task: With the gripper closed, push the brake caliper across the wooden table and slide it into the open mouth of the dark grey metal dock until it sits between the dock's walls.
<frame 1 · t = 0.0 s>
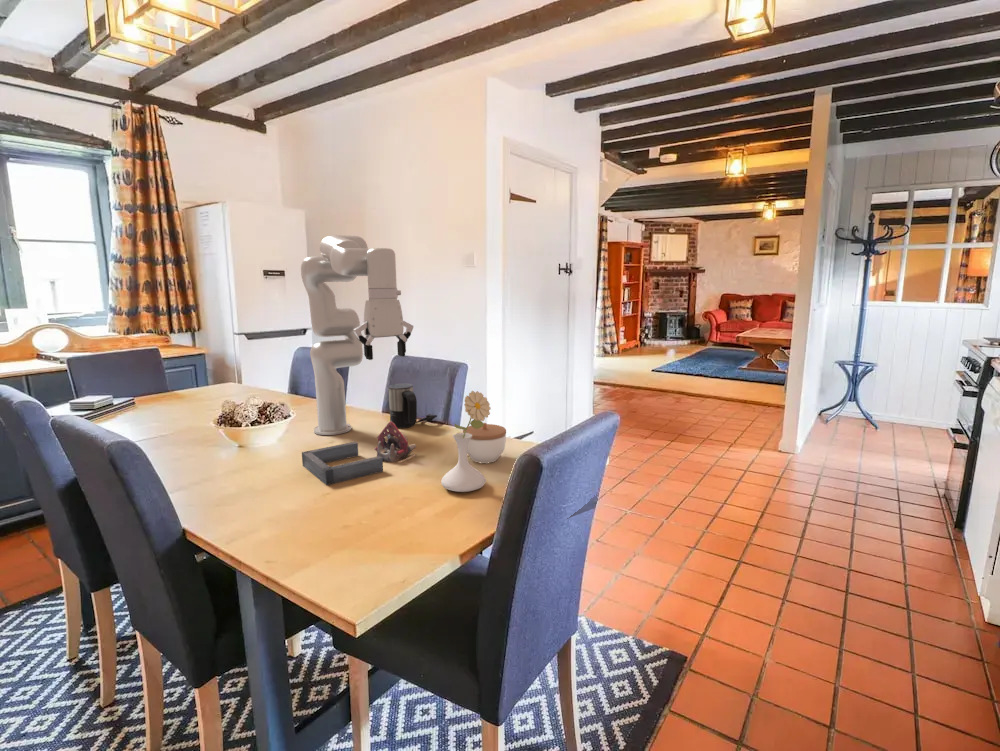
hand: (385, 357, 149), 31 cm above the table, tool pointing down, fingers open, 9 cm apart
brake caliper: (394, 457, 162), on the table
flower in vase: (466, 487, 138), on the table
dock: (345, 467, 153), on the table
lidded bowl: (484, 460, 159), on the table
milk frother: (413, 424, 197), on the table
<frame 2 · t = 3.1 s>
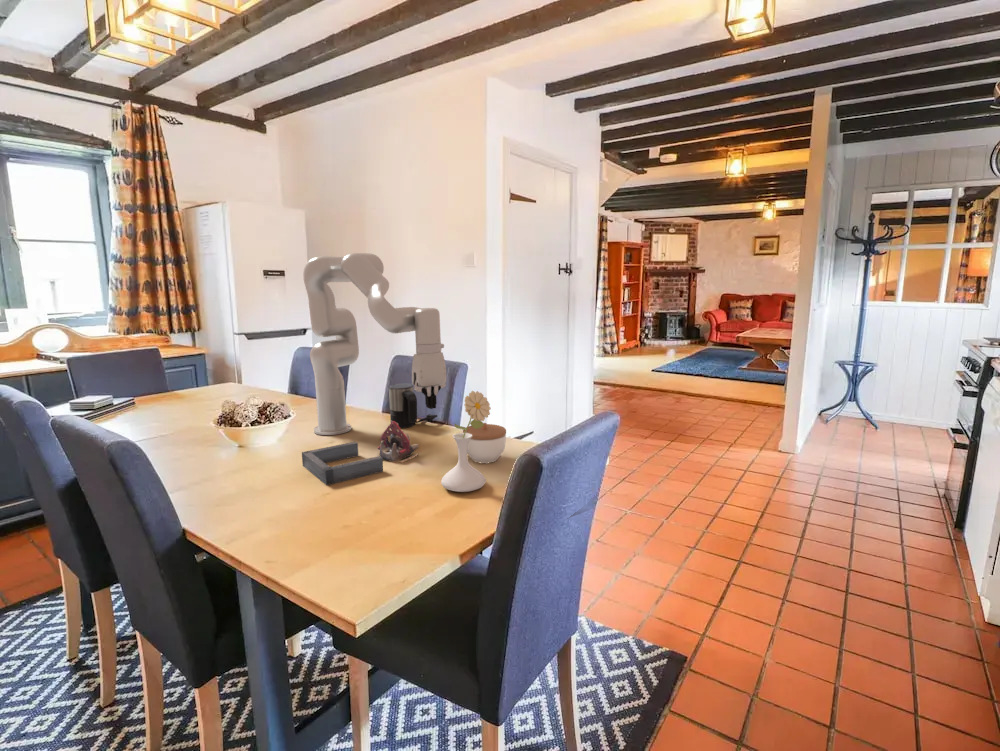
hand: (431, 407, 167), 13 cm above the table, tool pointing down, fingers closed
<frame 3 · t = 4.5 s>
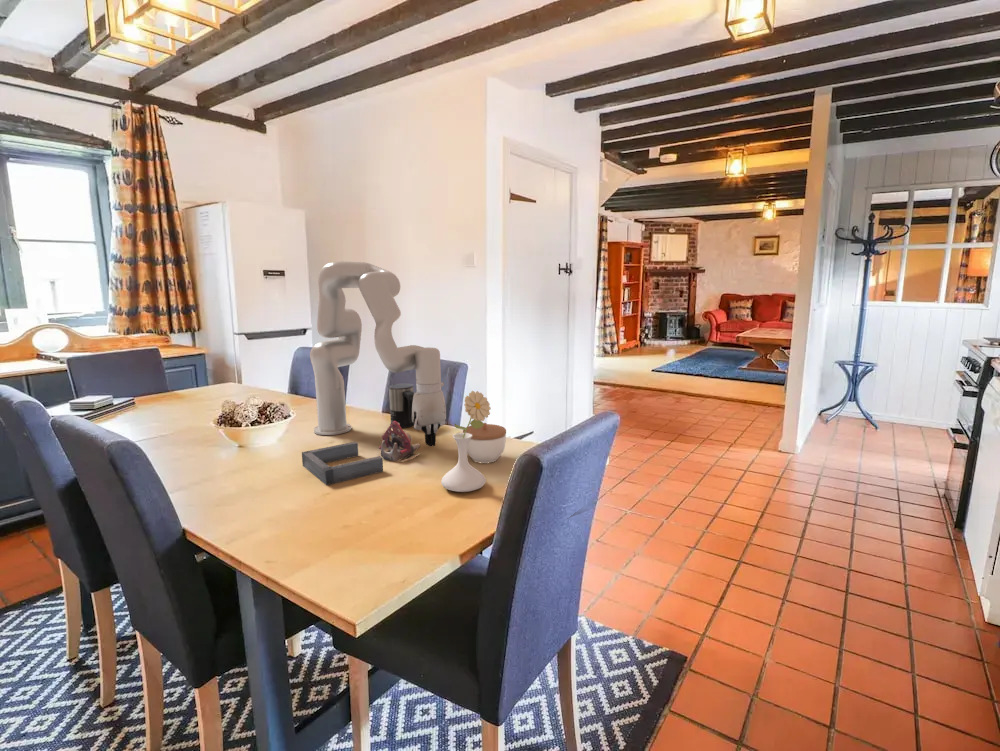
hand: (430, 445, 169), 1 cm above the table, tool pointing down, fingers closed
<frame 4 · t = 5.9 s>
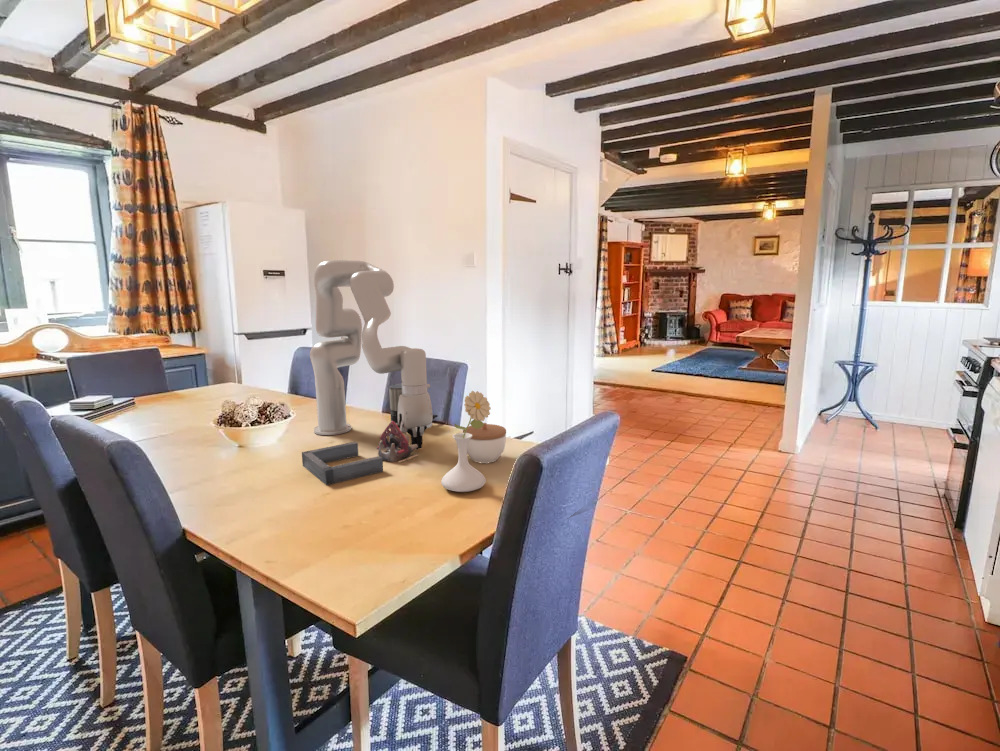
hand: (416, 447, 166), 1 cm above the table, tool pointing down, fingers closed
brake caliper: (395, 457, 162), on the table, touching gripper
everything else where it was.
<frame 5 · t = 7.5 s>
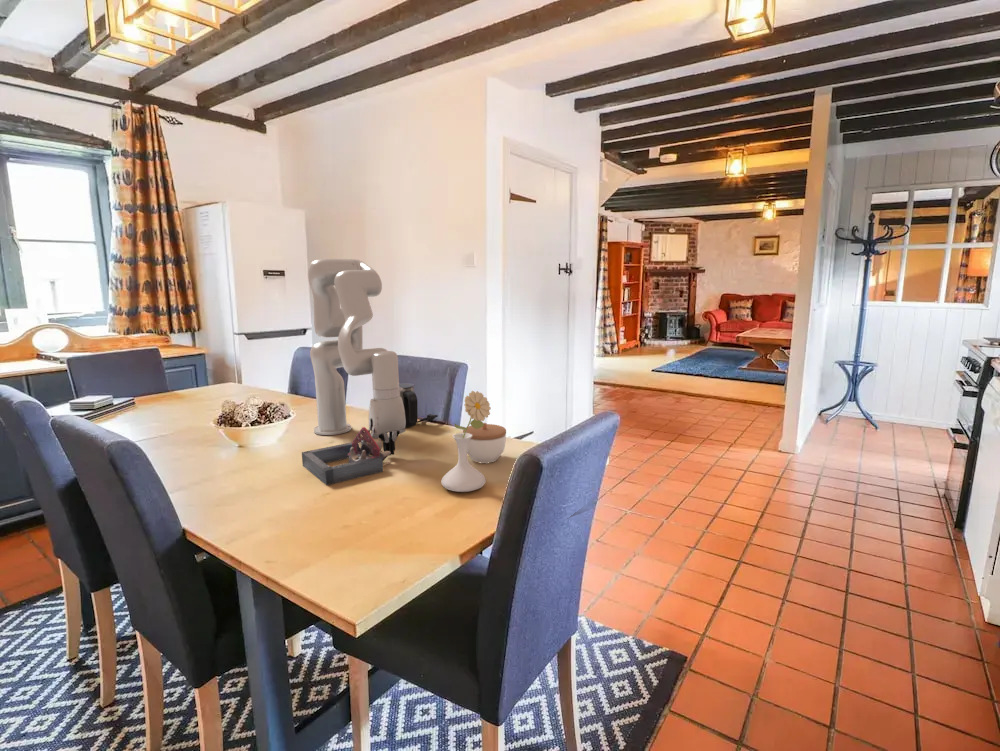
hand: (389, 453, 160), 1 cm above the table, tool pointing down, fingers closed
brake caliper: (367, 464, 156), on the table, touching gripper
everything else where it was.
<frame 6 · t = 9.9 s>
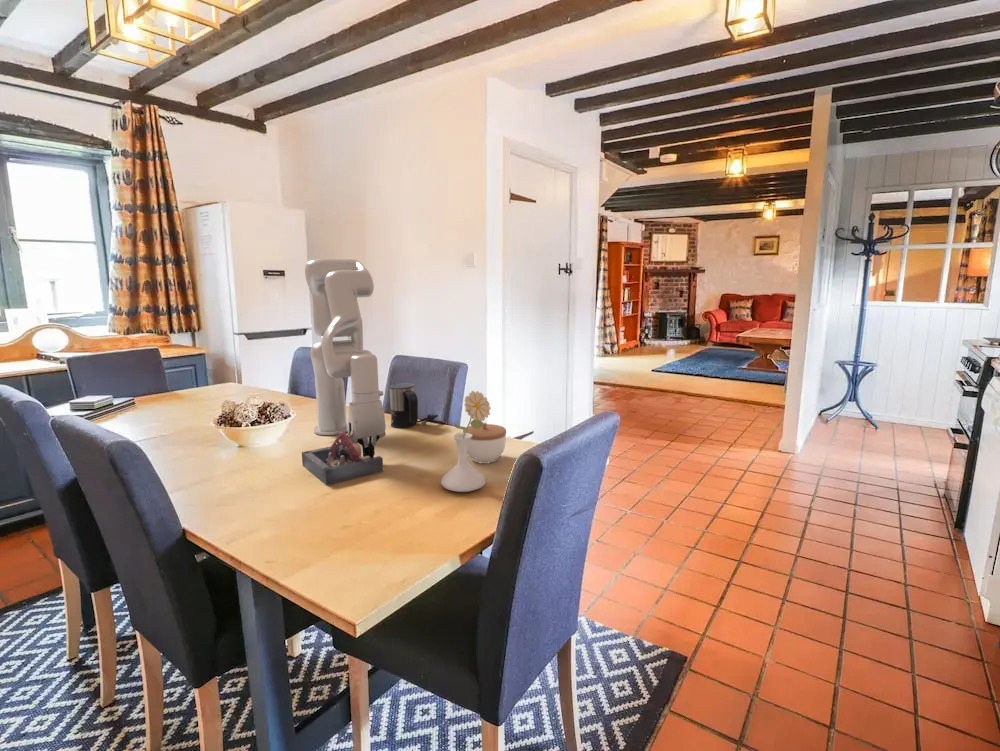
hand: (368, 458, 157), 1 cm above the table, tool pointing down, fingers closed
brake caliper: (346, 470, 152), on the table
everything else where it was.
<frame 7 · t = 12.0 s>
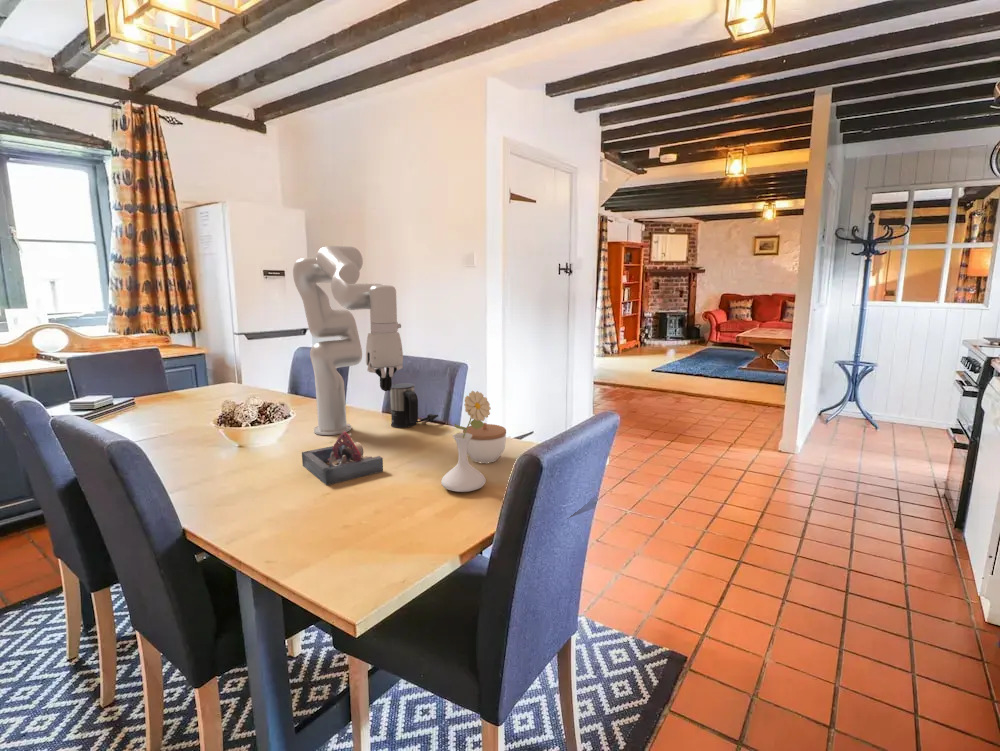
hand: (386, 389, 160), 20 cm above the table, tool pointing down, fingers closed
nothing on the table moved.
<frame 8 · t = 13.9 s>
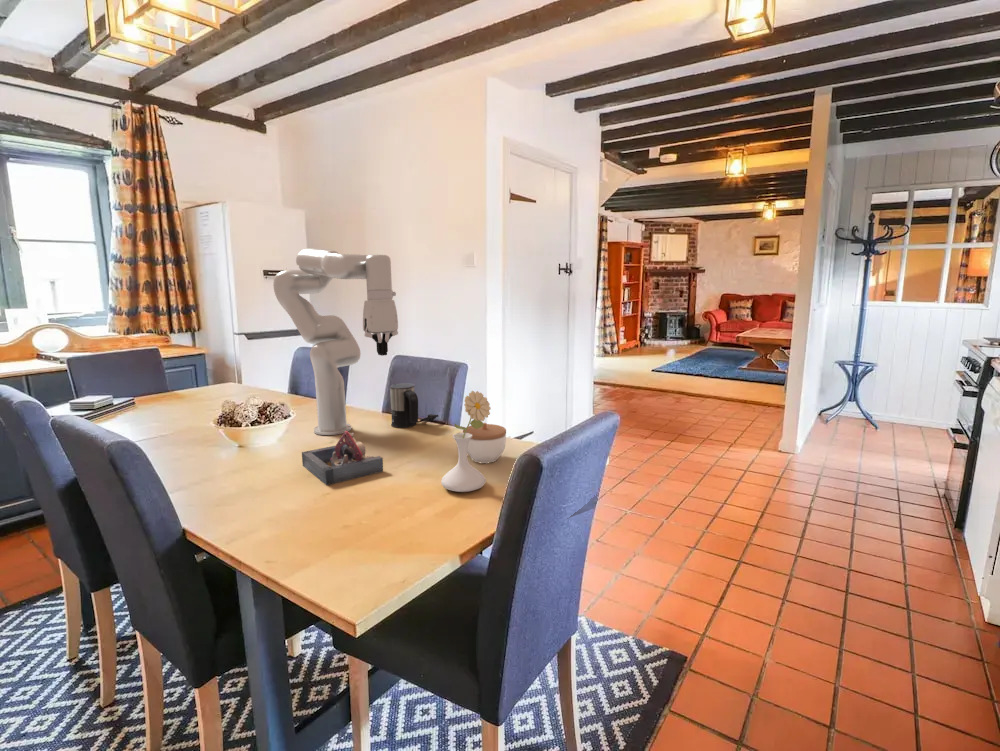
hand: (382, 354, 169), 29 cm above the table, tool pointing down, fingers closed
at the end: brake caliper inside the target area on the dock (2.2 cm from its centre), point 0.0 cm above the dock's base; brake caliper moved 14.1 cm from its start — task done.
